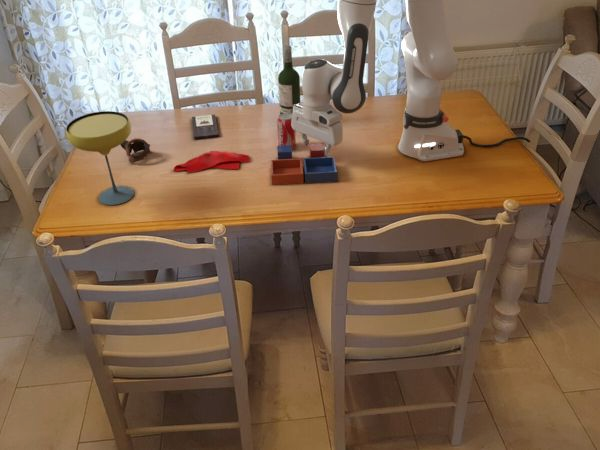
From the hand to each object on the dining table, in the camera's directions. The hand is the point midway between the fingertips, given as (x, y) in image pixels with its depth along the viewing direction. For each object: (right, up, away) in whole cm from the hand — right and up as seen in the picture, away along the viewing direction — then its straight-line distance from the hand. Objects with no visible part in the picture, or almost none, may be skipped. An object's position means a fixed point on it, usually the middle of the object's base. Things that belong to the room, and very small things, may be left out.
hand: (316, 148), depth 190 cm
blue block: (-11, -4, +3) cm, 12 cm away
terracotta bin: (-10, -10, -5) cm, 15 cm away
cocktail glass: (-64, -17, -12) cm, 67 cm away
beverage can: (-10, +2, +11) cm, 15 cm away
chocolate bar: (-42, +11, +26) cm, 50 cm away
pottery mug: (-63, -2, +8) cm, 63 cm away
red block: (0, -3, +3) cm, 5 cm away
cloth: (-36, -4, +4) cm, 36 cm away
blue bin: (+1, -9, -5) cm, 11 cm away
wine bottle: (-9, +13, +26) cm, 31 cm away
